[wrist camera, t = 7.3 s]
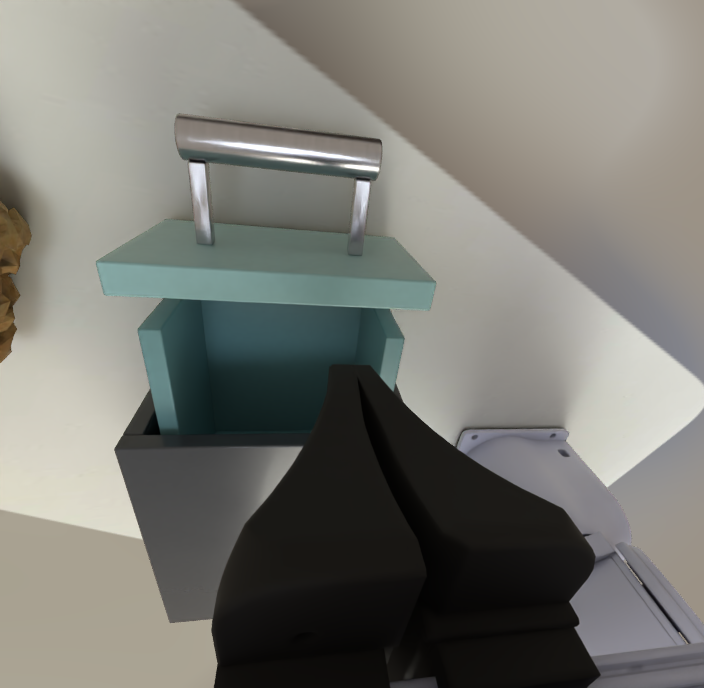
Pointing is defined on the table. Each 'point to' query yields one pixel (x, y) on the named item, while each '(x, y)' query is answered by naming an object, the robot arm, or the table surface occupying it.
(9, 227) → the tan lumpy rounded piece
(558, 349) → the table surface
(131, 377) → the table surface
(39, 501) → the table surface
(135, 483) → the compartment
